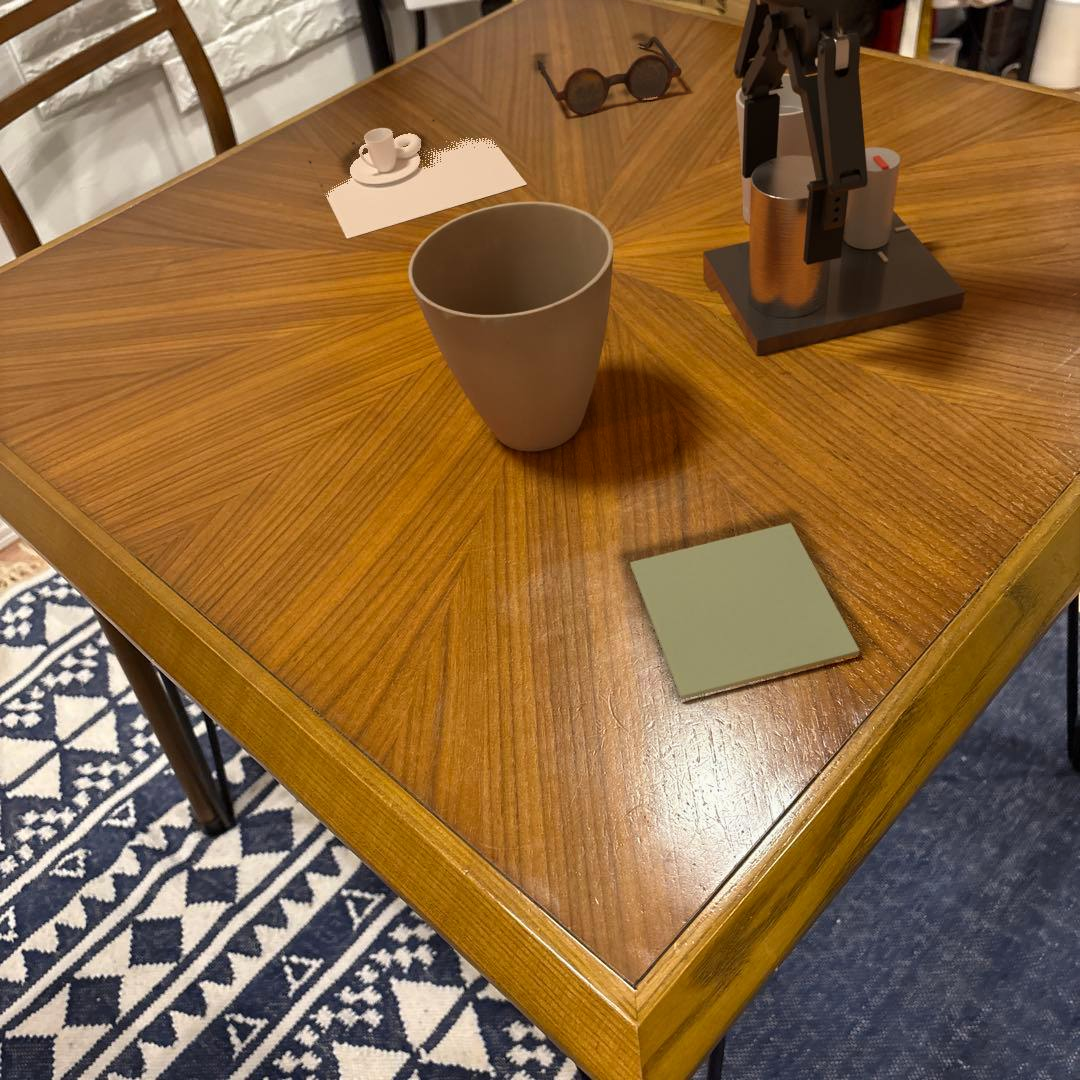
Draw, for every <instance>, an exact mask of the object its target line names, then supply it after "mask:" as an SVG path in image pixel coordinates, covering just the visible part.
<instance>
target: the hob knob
mask: <svg viewBox="0 0 1080 1080" xmlns="http://www.w3.org/2000/svg"><path fill="white" fill-rule="evenodd" d="M865 153H866V165H867V178H868V182H867V185H866V187H863V188H858V189H854V190H849V191H848V200H847V209H846V218H845V227H844V236H843V238H844V240H845V242H846V243H847V244H848V245H850V246H852V247H855V248H858V249H876V248H879V247H882V246H884V245H885V244H886V243H887V242H888V241H889V239H890V234H891V226H892V219H893V211H894V212H895V210H894V209H895V204H896V203H895V202H896V196H897V188H898V181H899V173H900V165H901V157H900V155H899V153H897V152H896V151H895V150H892V149H890V148H887V147H881V146H880V147H879V146H871V147H865Z"/></svg>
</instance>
